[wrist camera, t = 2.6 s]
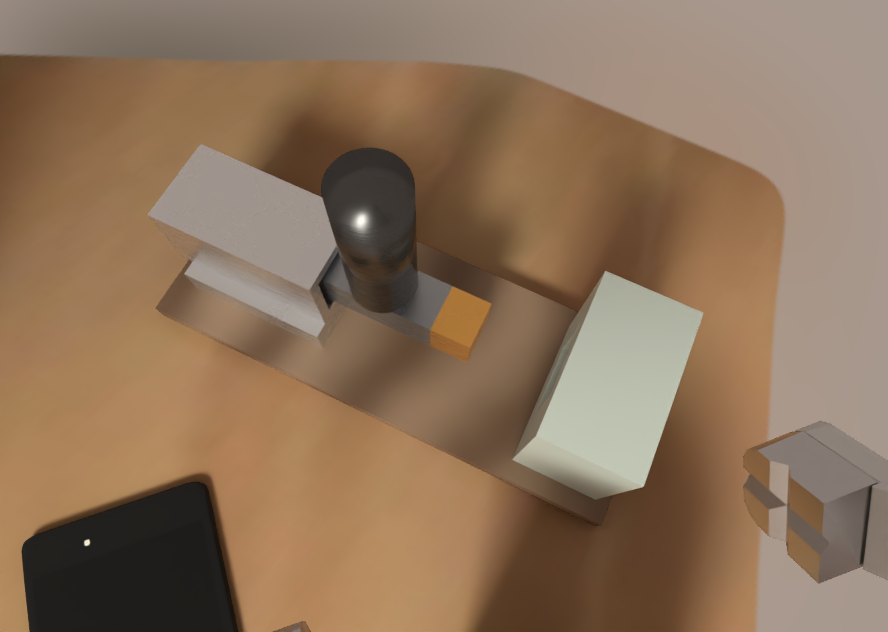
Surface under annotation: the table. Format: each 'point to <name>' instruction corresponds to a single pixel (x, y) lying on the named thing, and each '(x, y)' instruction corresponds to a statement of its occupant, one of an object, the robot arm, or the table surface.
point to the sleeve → (252, 241)
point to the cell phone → (132, 569)
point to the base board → (421, 370)
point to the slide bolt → (390, 256)
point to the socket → (610, 389)
